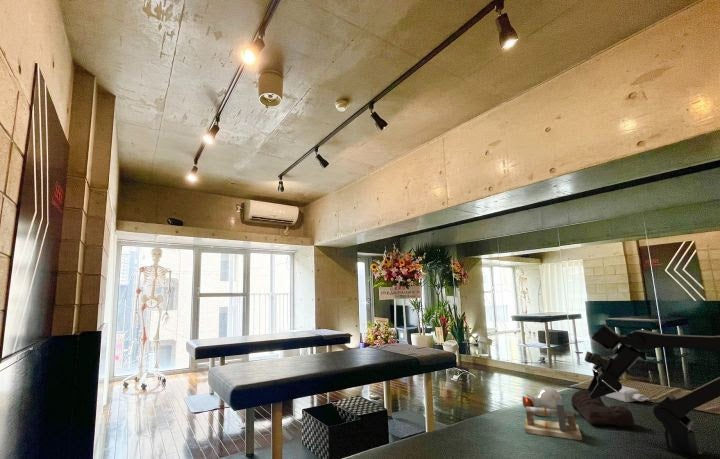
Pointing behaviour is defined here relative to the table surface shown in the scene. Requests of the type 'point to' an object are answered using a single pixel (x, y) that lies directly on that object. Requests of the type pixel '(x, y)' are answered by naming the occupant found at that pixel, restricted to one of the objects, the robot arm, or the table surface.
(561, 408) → the collar
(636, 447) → the table surface
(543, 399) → the potion bottle
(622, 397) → the charger
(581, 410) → the brown curved lump
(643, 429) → the table surface
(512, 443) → the table surface
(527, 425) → the pipe rig
